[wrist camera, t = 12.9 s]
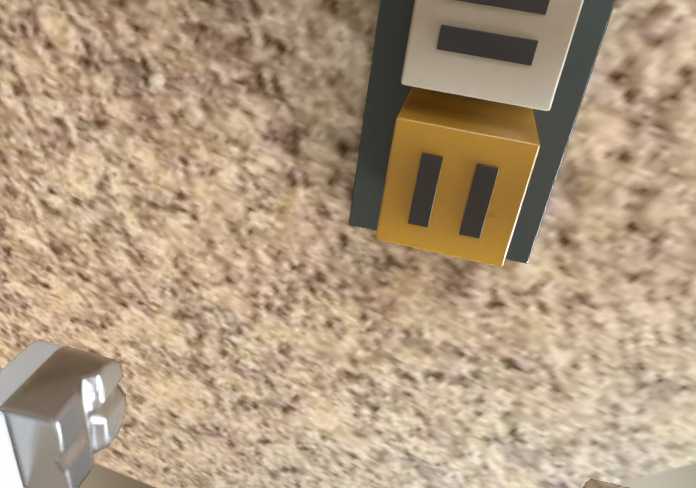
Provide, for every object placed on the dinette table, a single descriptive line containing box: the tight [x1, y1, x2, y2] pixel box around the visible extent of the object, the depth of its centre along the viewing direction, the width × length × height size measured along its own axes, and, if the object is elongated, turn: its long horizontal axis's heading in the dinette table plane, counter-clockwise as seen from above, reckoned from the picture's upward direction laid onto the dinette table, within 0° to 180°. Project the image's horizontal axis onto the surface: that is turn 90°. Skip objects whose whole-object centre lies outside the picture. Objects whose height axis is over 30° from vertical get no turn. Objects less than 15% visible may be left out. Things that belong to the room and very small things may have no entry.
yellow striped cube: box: [376, 87, 540, 267], centre depth 21 cm, size 5×5×5 cm
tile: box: [401, 0, 584, 111], centre depth 18 cm, size 5×5×5 cm
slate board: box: [349, 0, 616, 263], centre depth 21 cm, size 20×8×1 cm, turn 173°
